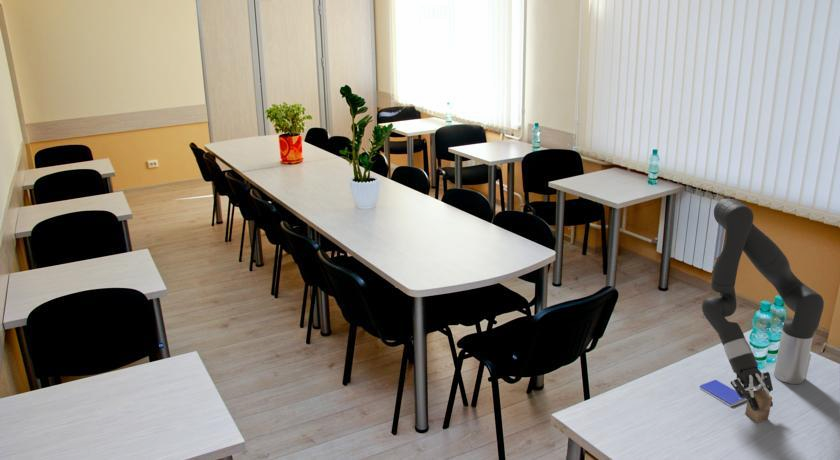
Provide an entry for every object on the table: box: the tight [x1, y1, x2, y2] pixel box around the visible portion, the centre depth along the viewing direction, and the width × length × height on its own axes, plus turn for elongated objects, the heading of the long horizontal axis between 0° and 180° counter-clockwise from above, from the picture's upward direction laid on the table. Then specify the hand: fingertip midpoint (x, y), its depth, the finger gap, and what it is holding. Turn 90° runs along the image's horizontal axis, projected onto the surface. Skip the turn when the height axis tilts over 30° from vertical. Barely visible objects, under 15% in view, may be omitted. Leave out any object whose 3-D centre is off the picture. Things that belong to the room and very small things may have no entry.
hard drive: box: [698, 379, 748, 407], centre depth 227 cm, size 2×8×12 cm
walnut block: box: [744, 389, 773, 423], centre depth 214 cm, size 5×5×8 cm
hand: (763, 408), depth 212 cm, fingers closed on walnut block, 4 cm apart
